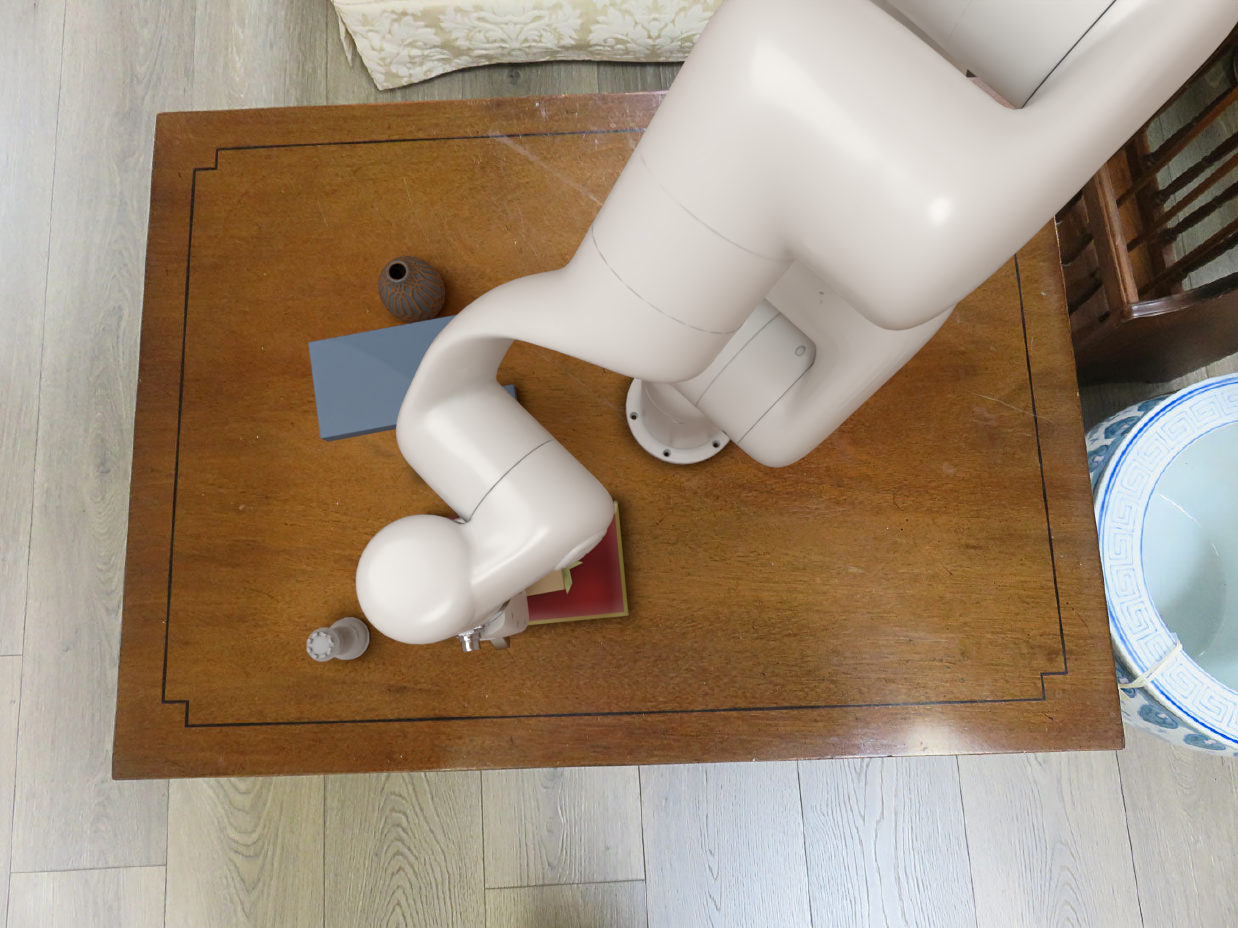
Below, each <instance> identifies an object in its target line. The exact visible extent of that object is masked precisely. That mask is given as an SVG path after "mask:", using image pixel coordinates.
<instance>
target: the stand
mask: <svg viewBox="0 0 1238 928" xmlns="http://www.w3.org/2000/svg"><path fill="white" fill-rule="evenodd" d="M456 315H457V314H453V315H449V316H443V317H438V318H433V319H431V320H426V321H421V322H415V323H404V324H400V325H395V326H394V325H393V326H389V327H383V328H379V329H372V330H368V331H361V332H356V333H352V334H351V333H350V334H346V335H341V336H334V337H330V338H324V339H319V340H314V341H308V342H307V344H308V352H309V359H310V367H311V374H312V375H311V376H312V382H313V383H312V384H313V390H314V391H313V392H314V398H315V407H316V415H317V422H318V429H319V437H320V439H321V440H323V441H326V442H328V443H330V442H334V441H340V440H346V439H352V438H356V437H361V436H366V435H372V434H378V433H382V432H388V431H394V430H396V425H397V419H398V415H399V411H400V408H401V405H402V403H403V400H404V398H405V395H406V393H407V391H408V389H409V387H410V384H411V382H412V380H413V378H414V376H415V374H416V371H417V369H418V367H419V365H420V363H421V361H422V359H423V357H424V355H425V353H426V351H427V350H428V348H429V347H430V345H431V344H432V342H433V341H434V339H435V338H436V336H437V335H438V334H439V333H440V332H441V331H442V329H443V328H444V327H445V326H446V325H447V324H448V323H449V322H450V321H451V320H452V319H453V318H454V317H455V316H456ZM501 386H502V387H503V388H504V389H505V390H506V391H507V392H508V393H509V394H510V395H511V396H512V397H513V398H514V399H515V400H516V401H517V402H518V403H519V400H518V396H517V390H516V389H517V388H516V387H515V385H514V384H513V383H512V384H507V385H501ZM416 475H418V476H420V475H419V474H418V473H417V472H416Z"/></svg>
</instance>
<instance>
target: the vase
mask: <svg viewBox="0 0 1238 928" xmlns="http://www.w3.org/2000/svg"><path fill="white" fill-rule="evenodd" d="M377 289H378V294H379V298H380V300H381V303H382V304H383V306H384V307H385V309H386V310H387V311H388V312H389V313H390V314H391V315H392V316H393V317H394V318H396V319H398V320H399V321H402V322H405V323H407V324H410V323H415V322H421V321H426V320H432V319H435V317H436V316H438V314H439V313H440V312H441V311H442V309H443V307H444V304H445V300H446V288H445V283H444V281H443V278H442V277H441V274H439V272H438V271H437V269H436V268H435V267H434V266H433V265H432V264H430V262H428V261H427V260H425V259H423V258H420V257H417V256H412V255H402V256H398V257H396V258H394V259H392V260H390V261H389V262H387V263H386V264H385V266H384V267H383V268H382V269H381V271H380V274H379V277H378V283H377Z"/></svg>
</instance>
